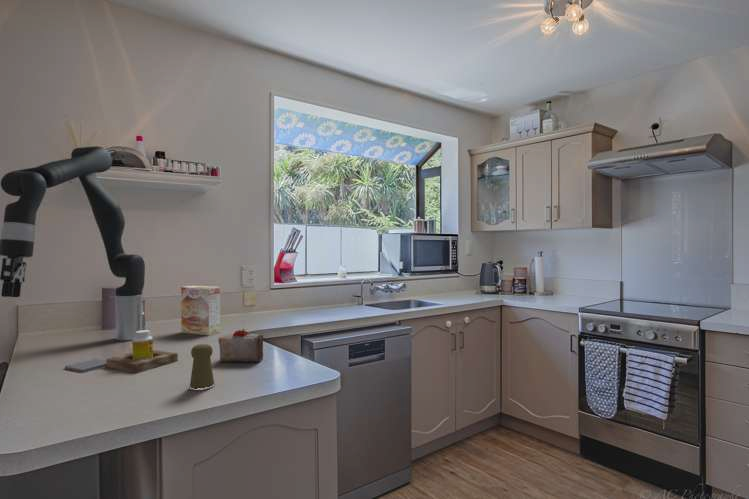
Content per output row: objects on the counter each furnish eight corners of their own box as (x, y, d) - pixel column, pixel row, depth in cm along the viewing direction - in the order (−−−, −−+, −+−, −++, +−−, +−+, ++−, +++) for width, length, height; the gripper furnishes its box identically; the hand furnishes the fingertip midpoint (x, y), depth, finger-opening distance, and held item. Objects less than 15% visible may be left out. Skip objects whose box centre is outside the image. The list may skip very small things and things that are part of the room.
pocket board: (148, 355, 143) (148, 348, 143) (177, 360, 137) (177, 353, 137) (106, 366, 131) (106, 359, 130) (137, 372, 125) (136, 364, 124)
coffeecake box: (180, 333, 180) (180, 286, 180) (193, 329, 187) (193, 285, 187) (208, 335, 175) (208, 287, 174) (220, 332, 181) (220, 286, 181)
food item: (215, 363, 134) (214, 332, 134) (224, 357, 142) (224, 327, 142) (258, 364, 133) (258, 332, 133) (265, 357, 141) (265, 327, 141)
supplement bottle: (152, 364, 133) (152, 331, 132) (132, 367, 130) (131, 333, 130) (153, 360, 138) (152, 328, 137) (133, 362, 135) (133, 330, 135)
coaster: (95, 361, 137) (95, 358, 137) (113, 364, 133) (113, 361, 133) (64, 368, 129) (64, 365, 129) (83, 372, 125) (83, 369, 125)
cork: (194, 383, 115) (193, 342, 115) (217, 382, 115) (217, 342, 115) (186, 391, 109) (185, 348, 109) (210, 390, 109) (210, 347, 109)
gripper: (28, 237, 118) (21, 297, 116) (39, 243, 131) (33, 297, 129) (-7, 235, 115) (-15, 296, 113) (7, 241, 127) (0, 296, 125)
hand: (10, 296), depth 121 cm, fingers open, 8 cm apart
